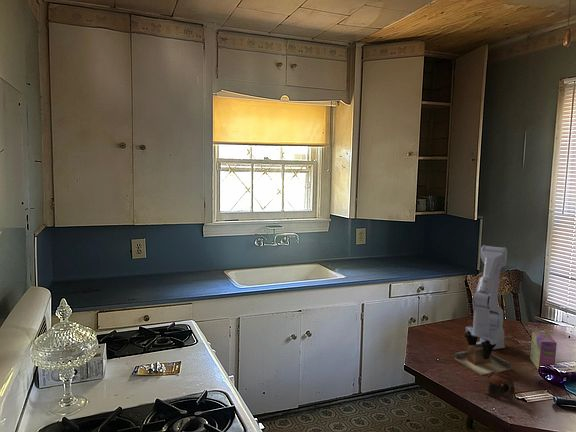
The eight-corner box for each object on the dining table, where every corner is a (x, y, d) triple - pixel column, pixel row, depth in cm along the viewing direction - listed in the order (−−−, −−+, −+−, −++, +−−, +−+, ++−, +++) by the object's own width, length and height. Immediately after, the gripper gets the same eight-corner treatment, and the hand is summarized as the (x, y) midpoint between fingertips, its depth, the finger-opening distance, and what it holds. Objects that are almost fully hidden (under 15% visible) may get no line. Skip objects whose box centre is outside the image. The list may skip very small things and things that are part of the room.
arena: (481, 354, 189) (482, 348, 189) (510, 369, 175) (510, 363, 175) (454, 358, 185) (454, 352, 184) (481, 375, 171) (481, 368, 170)
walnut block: (466, 360, 182) (467, 345, 181) (482, 357, 185) (483, 343, 184) (474, 364, 178) (475, 350, 177) (491, 361, 180) (491, 347, 180)
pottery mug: (477, 390, 160) (483, 368, 162) (498, 400, 162) (505, 377, 164) (500, 398, 149) (507, 374, 151) (523, 409, 150) (530, 385, 152)
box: (554, 372, 174) (556, 342, 172) (538, 370, 175) (540, 341, 173) (545, 360, 184) (547, 332, 182) (529, 359, 185) (531, 331, 183)
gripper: (460, 317, 185) (458, 349, 186) (486, 329, 171) (484, 363, 173) (474, 315, 187) (472, 346, 189) (501, 327, 174) (499, 361, 175)
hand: (479, 354), depth 181 cm, fingers open, 7 cm apart
